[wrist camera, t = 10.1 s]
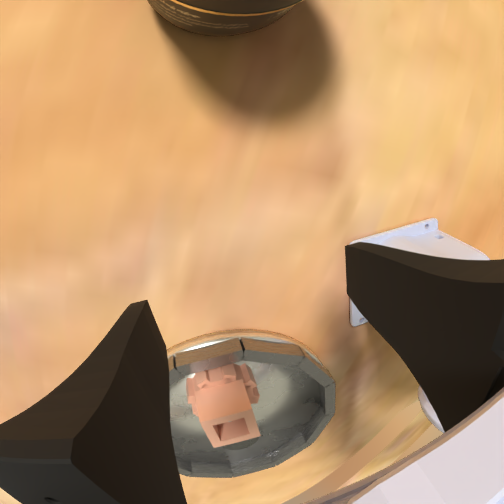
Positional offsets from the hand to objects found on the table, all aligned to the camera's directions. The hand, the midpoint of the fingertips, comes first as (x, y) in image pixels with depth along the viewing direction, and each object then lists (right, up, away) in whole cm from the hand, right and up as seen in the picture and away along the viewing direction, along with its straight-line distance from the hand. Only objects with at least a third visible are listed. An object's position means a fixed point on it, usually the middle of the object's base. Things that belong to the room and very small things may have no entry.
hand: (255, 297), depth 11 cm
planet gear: (-3, -9, +13) cm, 16 cm away
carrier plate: (-2, -13, +16) cm, 21 cm away
